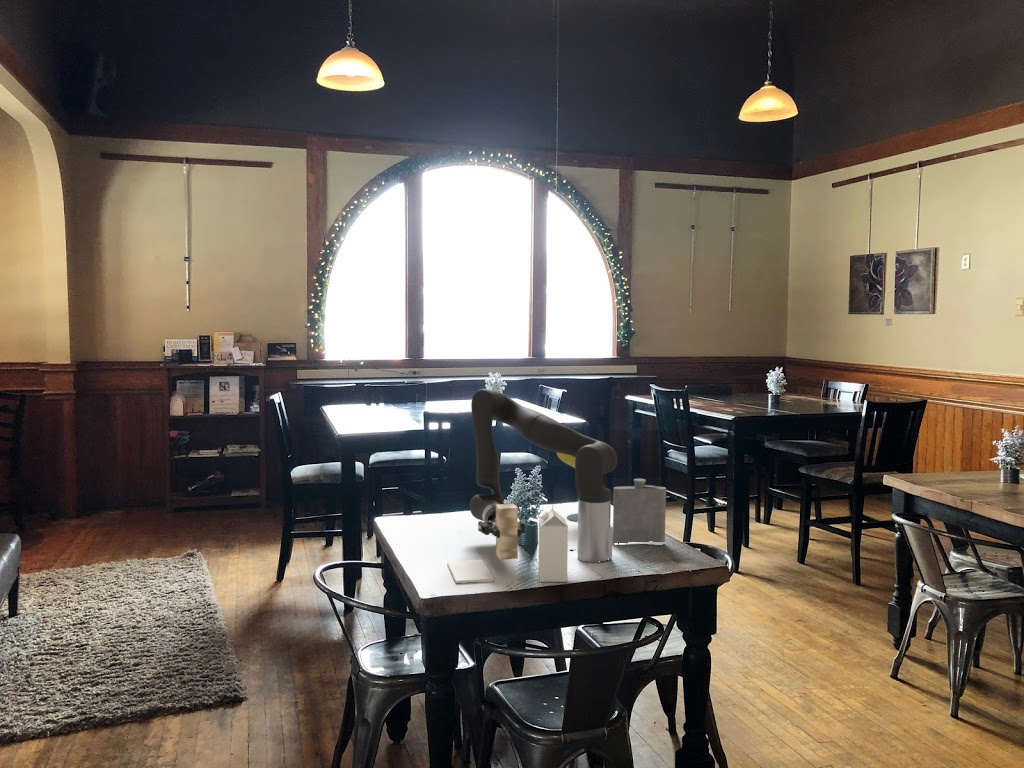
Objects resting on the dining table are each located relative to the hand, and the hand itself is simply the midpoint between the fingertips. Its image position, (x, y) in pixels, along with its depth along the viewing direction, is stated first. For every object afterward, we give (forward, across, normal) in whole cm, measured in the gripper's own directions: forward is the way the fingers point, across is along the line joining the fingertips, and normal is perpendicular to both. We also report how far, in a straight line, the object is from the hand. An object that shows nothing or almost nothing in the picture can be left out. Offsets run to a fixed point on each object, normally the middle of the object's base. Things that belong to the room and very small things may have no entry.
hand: (508, 533), depth 230 cm
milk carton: (+6, +11, +11) cm, 17 cm away
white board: (-3, -10, +11) cm, 15 cm away
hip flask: (-21, +45, +12) cm, 51 cm away
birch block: (-3, 0, +7) cm, 8 cm away
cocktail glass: (-54, +37, +11) cm, 66 cm away
